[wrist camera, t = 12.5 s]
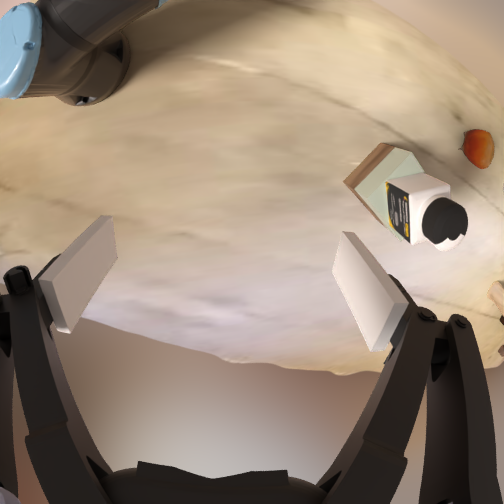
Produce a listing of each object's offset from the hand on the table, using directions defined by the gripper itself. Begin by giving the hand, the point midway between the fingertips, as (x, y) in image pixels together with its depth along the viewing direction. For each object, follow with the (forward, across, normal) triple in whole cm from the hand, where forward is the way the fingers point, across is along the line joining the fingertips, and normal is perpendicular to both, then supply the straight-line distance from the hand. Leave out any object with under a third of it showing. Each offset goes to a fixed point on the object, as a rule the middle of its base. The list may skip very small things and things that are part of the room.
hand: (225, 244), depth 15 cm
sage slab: (+26, +26, -1) cm, 37 cm away
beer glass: (+30, +78, -24) cm, 87 cm away
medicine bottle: (+21, +26, -1) cm, 33 cm away
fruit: (+31, +47, +12) cm, 57 cm away
